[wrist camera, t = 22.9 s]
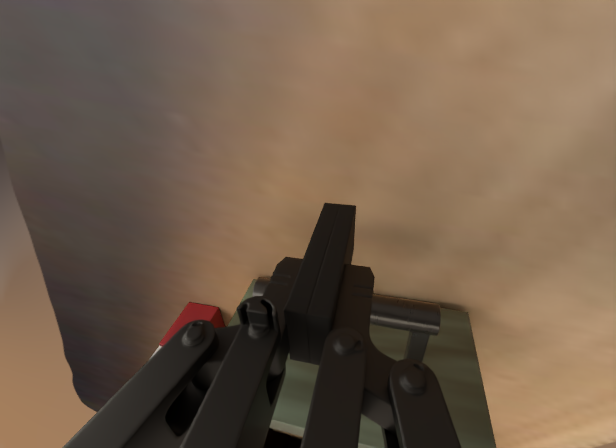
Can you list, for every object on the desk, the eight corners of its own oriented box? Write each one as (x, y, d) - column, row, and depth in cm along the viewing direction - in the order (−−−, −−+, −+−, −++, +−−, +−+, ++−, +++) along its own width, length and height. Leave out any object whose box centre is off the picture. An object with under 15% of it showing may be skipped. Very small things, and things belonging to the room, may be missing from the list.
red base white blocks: (189, 301, 32) (147, 359, 26) (218, 307, 31) (181, 367, 26) (205, 342, 36) (172, 398, 30) (232, 347, 35) (202, 407, 30)
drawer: (241, 222, 23) (154, 338, 15) (491, 249, 19) (554, 426, 11) (276, 387, 36) (241, 493, 28) (426, 423, 32) (433, 558, 24)
